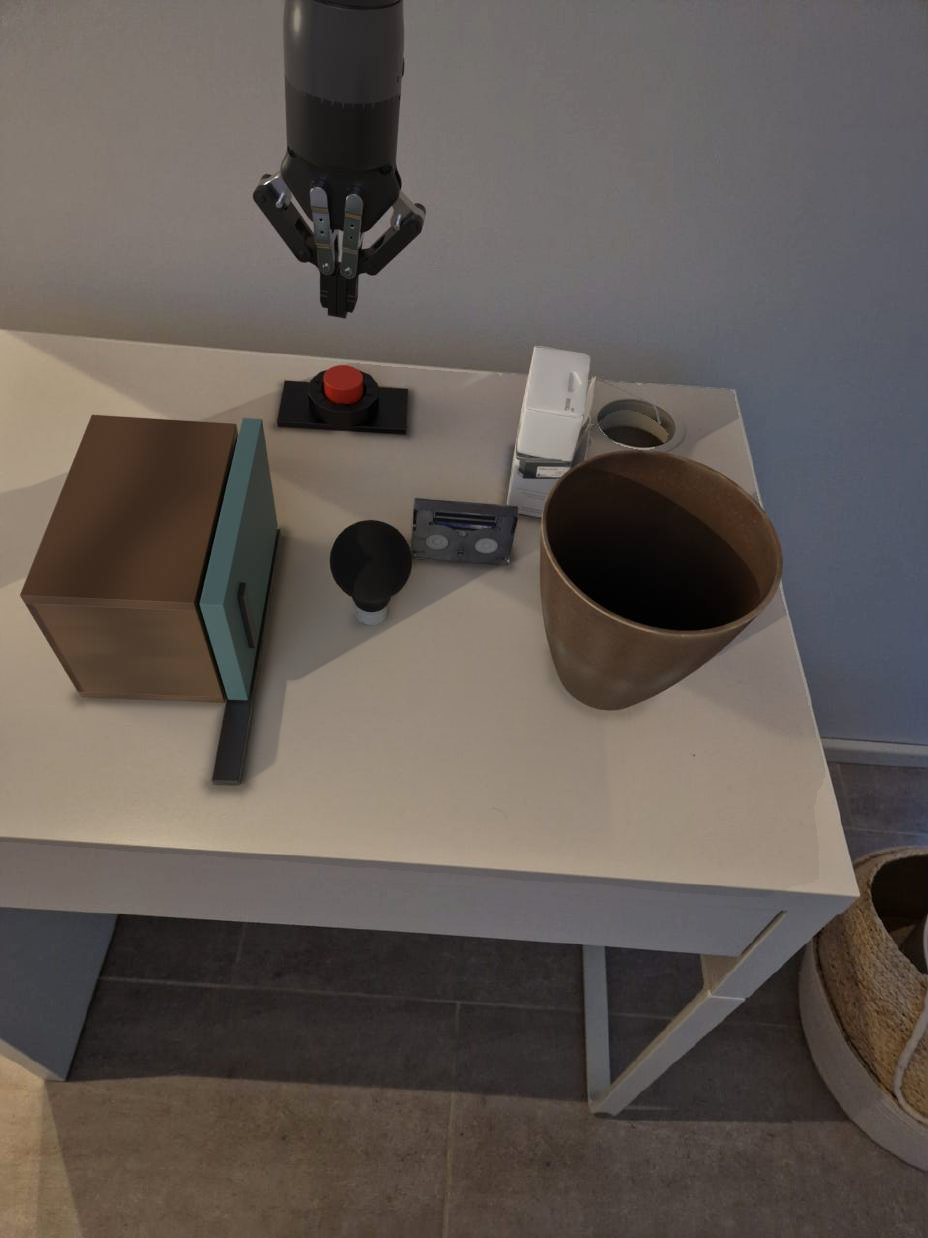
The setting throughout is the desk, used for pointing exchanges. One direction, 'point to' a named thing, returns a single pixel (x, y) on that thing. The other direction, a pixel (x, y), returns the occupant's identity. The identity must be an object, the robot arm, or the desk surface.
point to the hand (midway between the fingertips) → (339, 311)
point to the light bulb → (371, 566)
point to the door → (241, 562)
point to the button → (343, 384)
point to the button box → (343, 408)
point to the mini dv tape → (463, 531)
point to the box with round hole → (586, 440)
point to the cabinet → (142, 569)
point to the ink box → (548, 426)
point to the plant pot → (649, 572)
